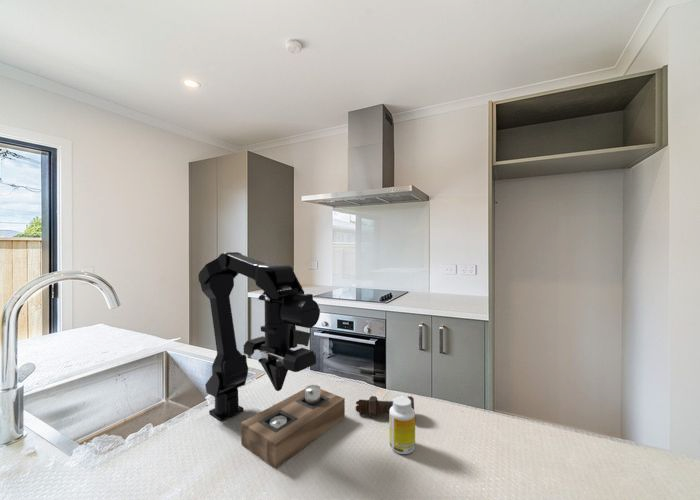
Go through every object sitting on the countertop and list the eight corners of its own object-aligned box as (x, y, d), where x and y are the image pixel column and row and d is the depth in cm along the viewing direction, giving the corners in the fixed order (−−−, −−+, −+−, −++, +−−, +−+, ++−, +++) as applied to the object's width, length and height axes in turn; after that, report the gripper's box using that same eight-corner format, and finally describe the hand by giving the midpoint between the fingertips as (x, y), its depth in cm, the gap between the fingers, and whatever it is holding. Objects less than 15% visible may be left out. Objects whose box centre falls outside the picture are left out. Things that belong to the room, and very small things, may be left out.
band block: (241, 444, 65) (241, 422, 65) (311, 402, 83) (311, 385, 83) (275, 469, 58) (275, 444, 58) (344, 417, 76) (344, 398, 76)
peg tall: (266, 442, 66) (266, 421, 66) (279, 434, 69) (279, 413, 69) (277, 449, 63) (276, 427, 63) (290, 440, 67) (290, 419, 66)
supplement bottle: (420, 450, 63) (420, 403, 63) (399, 459, 61) (399, 410, 61) (404, 435, 68) (404, 392, 68) (384, 443, 66) (384, 397, 66)
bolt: (357, 418, 79) (414, 422, 76) (354, 418, 74) (414, 422, 72) (358, 394, 82) (413, 397, 79) (355, 392, 77) (413, 395, 74)
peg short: (302, 407, 75) (302, 389, 74) (312, 401, 78) (312, 383, 77) (312, 412, 72) (312, 393, 72) (323, 406, 75) (323, 387, 75)
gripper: (332, 319, 67) (333, 388, 67) (279, 309, 78) (280, 368, 78) (295, 331, 58) (296, 409, 58) (241, 318, 69) (242, 383, 69)
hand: (278, 390), depth 66 cm, fingers closed
